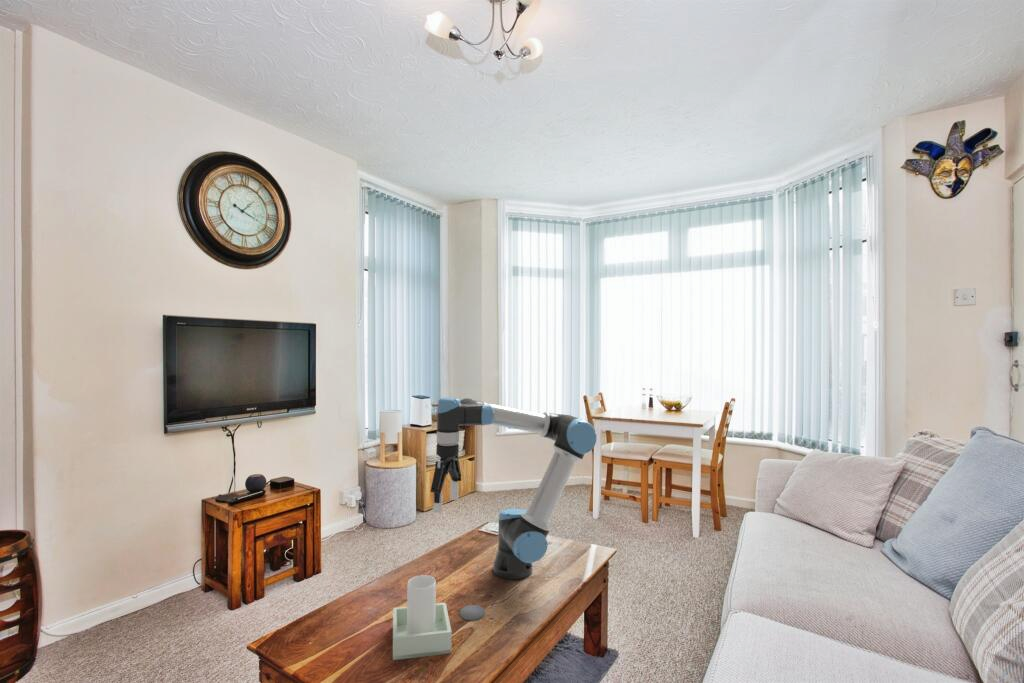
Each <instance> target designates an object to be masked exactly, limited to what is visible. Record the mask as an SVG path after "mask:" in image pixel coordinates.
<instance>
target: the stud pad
mask: <svg viewBox="0 0 1024 683" xmlns="http://www.w3.org/2000/svg"><path fill="white" fill-rule="evenodd" d="M485 613H486V611H485V609H484V608H483V607H482V606H480V605H477V604H476V605H475V604H469V605H466V606H463V607H462V608H461V609H460V610H459V616H460V618H461V619H463V620H465V621H478V620H480V619H482V618H483V617H484V616H485Z"/></svg>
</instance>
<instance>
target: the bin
mask: <svg viewBox="0 0 1024 683" xmlns="http://www.w3.org/2000/svg"><path fill="white" fill-rule="evenodd" d="M447 606H448V605H447V602H439V603H438V602H437V603H436V605H435V632H428V633H419V634H410V635H407V605H406V606H399V607H398V606H397V607H393V608H392V661H399V660H405V659H415V658H423V657H431V656H438V655H440V656H441V655H447V654H448V655H449V654H452V637H453V636H452V634H453V633H452V626H451V623H450V617H449V612H448V607H447Z"/></svg>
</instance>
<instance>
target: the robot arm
mask: <svg viewBox="0 0 1024 683" xmlns="http://www.w3.org/2000/svg"><path fill="white" fill-rule="evenodd" d="M436 413H437V414H436V417H437V418H436V426H437V427H436V434H435V436H436V443H437V444H436V449H435V450H436V456H439V457H440V458H439V460H440V461H435V468H434V472H433V478H432V482H431V487H430V493H433V513H439V514H441V513H443V492H442V490H443V487H444V484H445V481H446V476H448V474H449V477H450V478H451V481H450V495H449V496H450V497H449V499H450V500H451V501H458V500H459V482H461V481H462V472H461V465H460V461H459V452H460V450H459V449H460V448H459V443H460V426H462V427H464V426H489V425H494V426H499V427H502V428H503V427H504V428H510V429H514V430H519V431H524V432H525V431H526V432H530V433H535V434H539V437H541V438H545V439H546V438H547V439H549V440H551V441H554V444H553V450H554V453H553V455H552V457H551V459H550V462H549V464H548V466H547V469H546V470H545V472H544V475H543V477H542V479H541V480H540V483H539V486H538V487H537V489H536V492H535V494H534V496H533V497H532V500H531V502H530V505H529V507H528V509H527V510H526V509H522V508H508V509H507V508H506V509H504V510H501V511H500V512H499V514H498V536H497V537H498V540H497V545H498V547H497V551H496V554H495V557H494V561H493V565H492V567H493V568H492V571H493V573H494V574H495V575H496V576H498V577H499V578H502V579H507V580H519V579H520V580H522V579H525V578H528V577H530V576H531V575H532V573H533V563H536V562H538V561H540V560H541V559H542V558H543V557H545V555H546V553H547V552H548V547H549V546H548V544H549V543H548V540H547V537H548V534H549V532H550V530H551V529H550V525H549V522H550V520H551V518H552V516H553V513H554V511H555V509H556V507H557V504H558V503H559V501H560V498H561V496H562V494H563V492H564V490H565V487H566V485H567V483H568V481H569V479H570V477H571V474H572V472H573V470H574V468H575V466H576V464H577V463H578V462H580V461H582V460H583V458H584V457H585V454H588V453H589V452H591V451H592V450H593V449H594V448H595V447H596V443H597V439H598V438H597V436H598V435H597V431H596V429H595V427H594V426H593V424H591V423H590V422H589V421H587V420H585V419H583V418H580V417H576V416H573V415H570V414H561V413H551V412H542V413H538V412H534V411H529V410H522V409H519V408H514V407H513V408H512V407H507V406H505V405H499V404H495V403H489V402H484V401H479V400H474V399H472V398H468V397H467V398H462V399H460V398H458V397H442V398H439V399H438V401H437V408H436Z"/></svg>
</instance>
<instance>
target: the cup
mask: <svg viewBox="0 0 1024 683" xmlns="http://www.w3.org/2000/svg"><path fill="white" fill-rule="evenodd" d="M436 584H437V581H436V578H435V577H433V576H432V575H427V574H420V575H419V574H418V575H415V576H412V577H411V578H409V579H408V581H407V585H406V586H407V587H406V588H407V589H406V595H407V596H406V598H407V599H406V603H407V604H406V606H407V635H410V634H419V633H428V632H435V605H436V601H437V600H436V599H437V597H436V594H437V593H436V592H437V591H436V589H437V585H436Z"/></svg>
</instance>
